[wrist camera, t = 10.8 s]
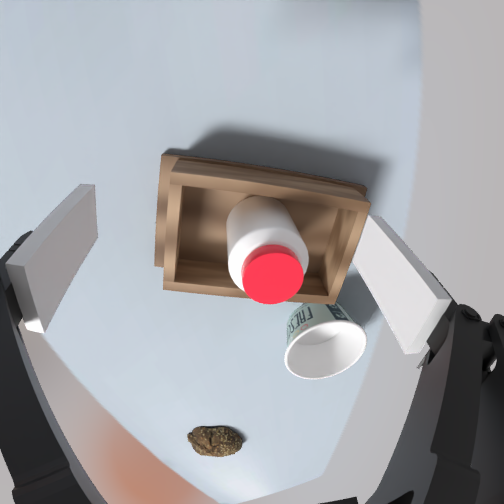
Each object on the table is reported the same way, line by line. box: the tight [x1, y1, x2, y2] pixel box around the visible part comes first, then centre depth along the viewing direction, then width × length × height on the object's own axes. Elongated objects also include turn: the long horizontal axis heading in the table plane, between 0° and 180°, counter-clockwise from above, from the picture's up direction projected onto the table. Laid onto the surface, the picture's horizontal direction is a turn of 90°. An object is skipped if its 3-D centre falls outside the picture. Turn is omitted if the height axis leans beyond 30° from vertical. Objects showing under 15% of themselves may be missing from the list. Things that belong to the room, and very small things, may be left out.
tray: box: [154, 154, 371, 305], centre depth 36 cm, size 14×24×6 cm, turn 80°
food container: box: [285, 302, 367, 379], centre depth 45 cm, size 12×12×6 cm
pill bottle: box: [226, 196, 309, 304], centre depth 33 cm, size 8×8×11 cm
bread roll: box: [187, 427, 242, 457], centre depth 62 cm, size 13×12×5 cm
